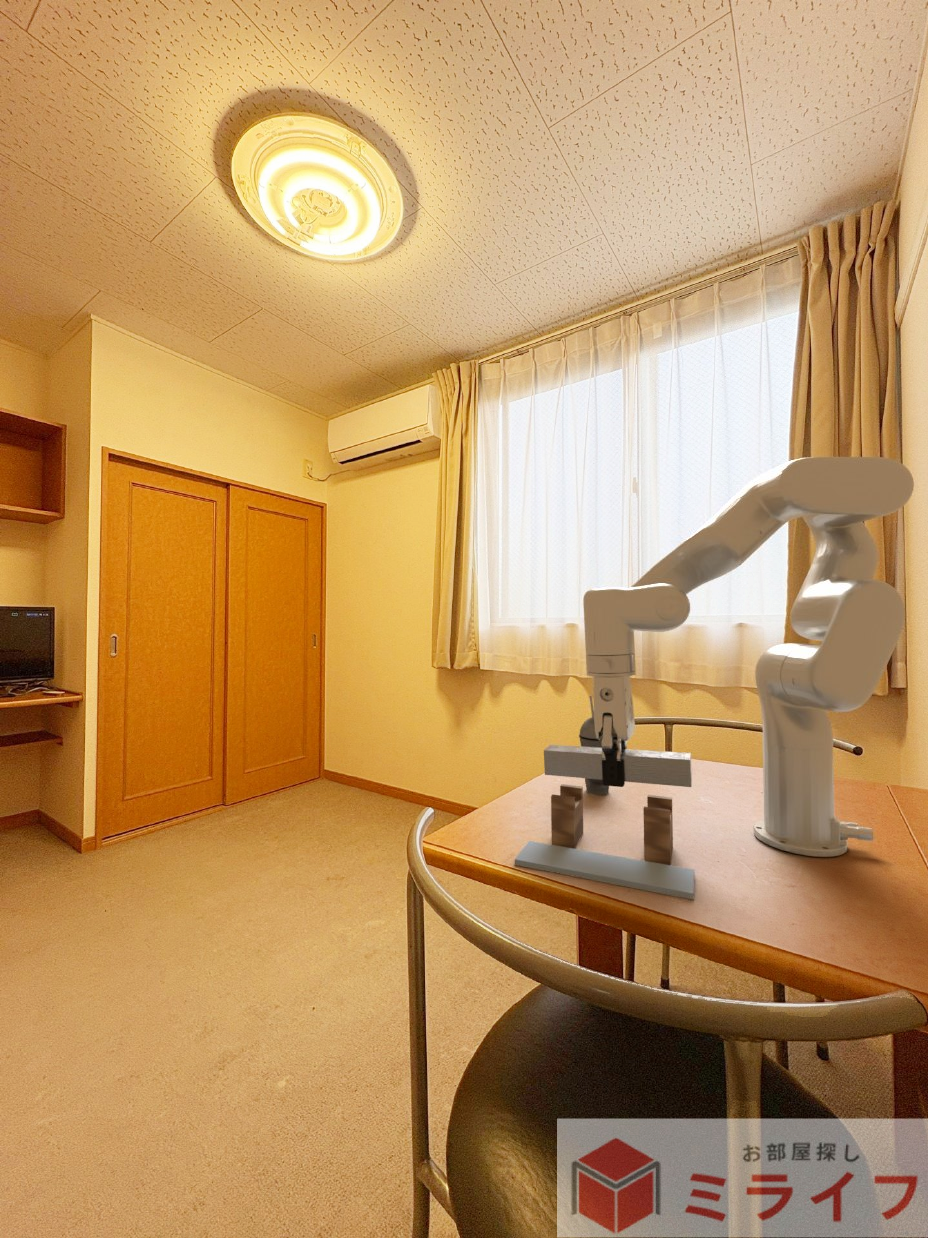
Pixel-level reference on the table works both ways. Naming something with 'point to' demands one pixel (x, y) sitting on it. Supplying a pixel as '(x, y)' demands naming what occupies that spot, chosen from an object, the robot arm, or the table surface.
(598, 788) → the beverage cup
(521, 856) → the grey board
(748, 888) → the table surface
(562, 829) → the post far
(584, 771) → the rail
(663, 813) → the post near
